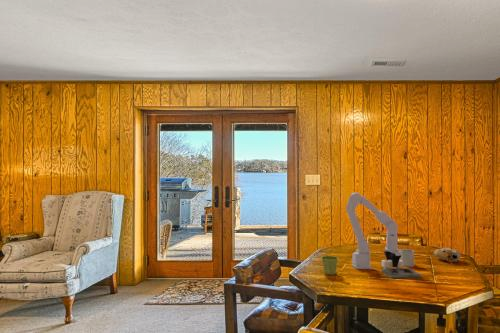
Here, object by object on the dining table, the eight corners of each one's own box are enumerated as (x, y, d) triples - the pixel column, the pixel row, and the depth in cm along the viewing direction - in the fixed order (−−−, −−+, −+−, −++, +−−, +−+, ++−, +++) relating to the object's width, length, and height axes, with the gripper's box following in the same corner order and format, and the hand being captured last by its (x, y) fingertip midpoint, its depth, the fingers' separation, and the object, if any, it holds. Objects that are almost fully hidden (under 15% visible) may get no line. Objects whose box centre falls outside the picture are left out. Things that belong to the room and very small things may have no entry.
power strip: (384, 270, 193) (384, 261, 193) (381, 268, 196) (381, 259, 196) (403, 270, 193) (403, 260, 193) (400, 268, 197) (400, 259, 197)
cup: (412, 267, 198) (411, 252, 198) (394, 264, 205) (394, 249, 205) (415, 265, 203) (415, 250, 204) (398, 262, 210) (398, 247, 210)
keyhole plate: (391, 278, 178) (391, 275, 178) (381, 271, 190) (381, 268, 190) (421, 277, 179) (421, 274, 179) (409, 271, 191) (409, 268, 191)
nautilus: (461, 268, 198) (433, 266, 206) (461, 258, 217) (434, 256, 224) (460, 254, 198) (431, 253, 206) (460, 245, 216) (433, 244, 224)
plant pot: (329, 277, 181) (328, 260, 181) (317, 272, 189) (317, 256, 189) (342, 274, 185) (342, 258, 185) (330, 270, 194) (330, 255, 194)
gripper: (405, 244, 188) (405, 268, 188) (393, 239, 202) (393, 262, 202) (392, 244, 188) (392, 269, 187) (381, 239, 202) (381, 262, 202)
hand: (392, 265), depth 195 cm, fingers open, 6 cm apart
